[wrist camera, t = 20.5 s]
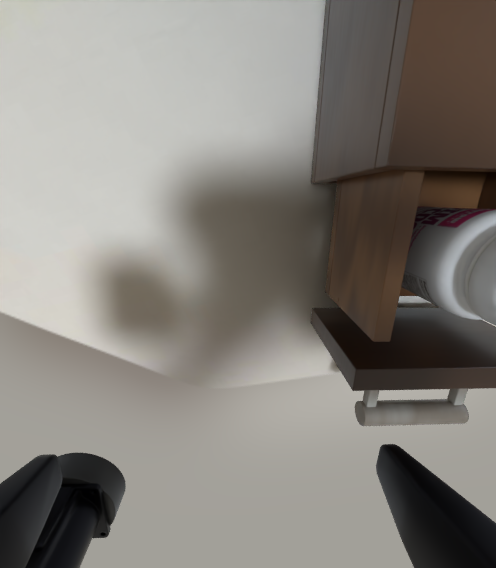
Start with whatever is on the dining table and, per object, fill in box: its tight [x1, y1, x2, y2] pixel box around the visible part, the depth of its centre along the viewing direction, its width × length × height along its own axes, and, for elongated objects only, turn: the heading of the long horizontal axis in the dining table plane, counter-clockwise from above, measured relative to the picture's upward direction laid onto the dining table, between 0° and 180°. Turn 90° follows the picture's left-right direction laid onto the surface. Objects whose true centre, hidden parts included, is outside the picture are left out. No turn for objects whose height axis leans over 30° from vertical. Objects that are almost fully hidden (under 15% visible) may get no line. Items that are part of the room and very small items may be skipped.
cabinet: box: [311, 0, 496, 184], centre depth 11 cm, size 14×12×9 cm
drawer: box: [311, 169, 496, 426], centre depth 15 cm, size 17×11×7 cm, turn 179°
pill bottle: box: [401, 206, 496, 325], centre depth 13 cm, size 5×5×8 cm
